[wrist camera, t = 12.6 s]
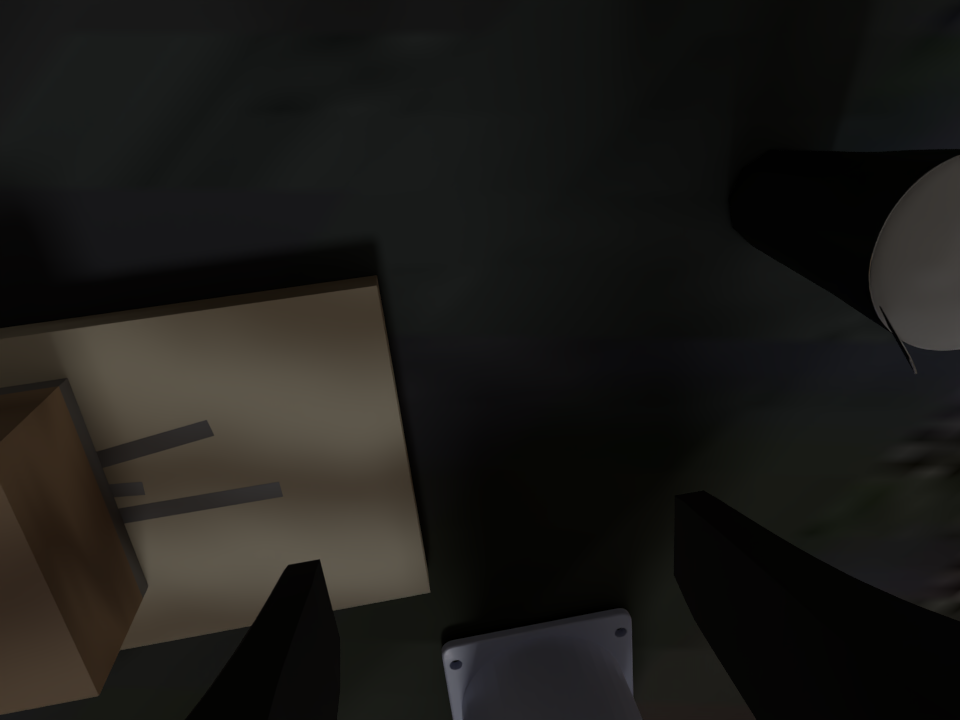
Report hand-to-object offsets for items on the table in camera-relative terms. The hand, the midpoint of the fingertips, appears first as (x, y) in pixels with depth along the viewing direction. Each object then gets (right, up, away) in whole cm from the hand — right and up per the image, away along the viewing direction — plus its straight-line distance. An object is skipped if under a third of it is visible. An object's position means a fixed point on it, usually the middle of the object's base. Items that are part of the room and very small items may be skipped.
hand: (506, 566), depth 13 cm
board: (-11, 0, +10) cm, 15 cm away
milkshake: (+9, +9, +9) cm, 16 cm away
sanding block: (-14, 0, +8) cm, 16 cm away
